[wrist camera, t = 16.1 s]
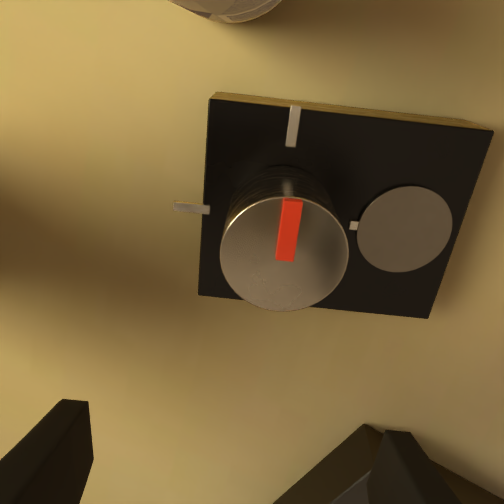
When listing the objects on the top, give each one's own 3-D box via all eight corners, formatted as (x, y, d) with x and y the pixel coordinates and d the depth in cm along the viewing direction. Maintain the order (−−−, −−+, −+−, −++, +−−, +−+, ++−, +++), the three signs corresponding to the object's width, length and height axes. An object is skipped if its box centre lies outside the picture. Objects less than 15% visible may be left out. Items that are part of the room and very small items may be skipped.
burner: (347, 265, 17) (348, 267, 17) (367, 179, 15) (368, 181, 15) (434, 274, 17) (436, 276, 17) (463, 190, 16) (465, 191, 15)
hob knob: (322, 267, 17) (337, 322, 14) (224, 257, 17) (214, 311, 14) (341, 171, 15) (363, 207, 12) (232, 159, 15) (223, 192, 12)
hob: (181, 268, 20) (170, 297, 18) (187, 85, 16) (175, 91, 14) (410, 292, 20) (429, 323, 18) (466, 117, 17) (498, 128, 14)
